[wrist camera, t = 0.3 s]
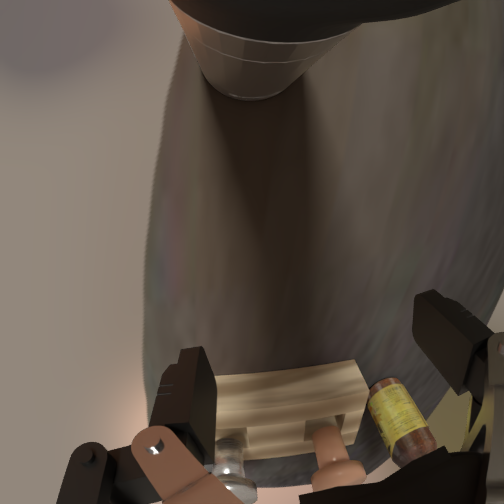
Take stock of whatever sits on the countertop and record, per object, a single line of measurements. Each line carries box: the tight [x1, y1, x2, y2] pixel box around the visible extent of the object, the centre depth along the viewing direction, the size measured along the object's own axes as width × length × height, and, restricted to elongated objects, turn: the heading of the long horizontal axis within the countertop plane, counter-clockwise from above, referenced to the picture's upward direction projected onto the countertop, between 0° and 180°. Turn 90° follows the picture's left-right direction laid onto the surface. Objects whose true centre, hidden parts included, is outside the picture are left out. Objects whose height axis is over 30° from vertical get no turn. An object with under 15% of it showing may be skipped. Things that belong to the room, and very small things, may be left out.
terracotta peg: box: [311, 426, 367, 492], centre depth 28 cm, size 6×6×8 cm
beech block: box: [214, 359, 369, 460], centre depth 35 cm, size 12×22×6 cm, turn 94°
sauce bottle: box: [367, 377, 437, 468], centre depth 30 cm, size 6×6×20 cm
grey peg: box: [213, 438, 257, 504], centre depth 28 cm, size 6×6×8 cm
